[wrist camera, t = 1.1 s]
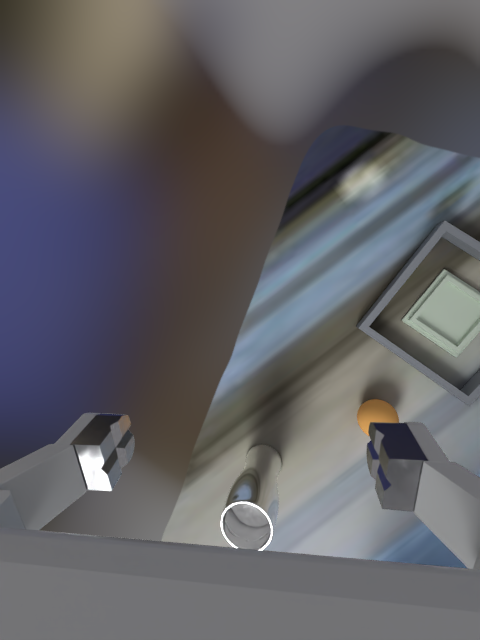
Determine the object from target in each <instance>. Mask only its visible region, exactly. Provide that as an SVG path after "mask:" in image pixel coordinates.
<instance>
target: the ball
mask: <svg viewBox="0 0 480 640" xmlns="http://www.w3.org/2000/svg"><path fill="white" fill-rule="evenodd" d="M357 420H358V424H359V426H360V428H361V429H362V430H363V432H364V433H366V434H367V435H368V436H369V433H368V431H369V425H370V422H385V423H399V418H398V415H397V412H396V411H395V409H394V408H393V407H392V406H391V405H390V404H389V403H387V402H385V401H383V400H379V399H372V400H368V401H366V402H365V403H363V404H362V405H361V406H360V408H359V410H358V414H357Z"/></svg>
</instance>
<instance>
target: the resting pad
mask: <svg viewBox="0 0 480 640" xmlns="http://www.w3.org/2000/svg"><path fill="white" fill-rule="evenodd" d="M401 321H403V322H404V323H406V324H407V325H409V326H410V327H412V328H413V329H415V330H416V331H418V332H419V333H420V334H422V335H423V336H425V337H426V338H428V339H429V340H431V341H432V342H434V343H435V344H437V345H438V346H439V347H441V348H442V349H444V350H445V351H447V352H448V353H450V354H451V355H453V356H454V357H456V358H457V357H458V355H459V354H460V353H461V352H462V351H463V350H464V349H465V348H466V346H467V345H468V344H469V343H470V342H471V341H472V340H473V339H474V338H475V336H476V335H477V334H478V333H479V332H480V292H479V291H477V290H476V289H474V288H473V287H471V286H470V285H468V284H467V283H465V282H464V281H462V280H460V279H459V278H457V277H456V276H454V275H453V274H451V273H450V272H448V271H446V270H445V269H443V270H442V271H441V273H440V274H439V275H438V276H437V277H436V279H435V280H434V281H433V282H432V283H431V285H430V286H429V287H428V288H427V289H426V291H425V292H424V293H423V294H422V296H421V297H420V298H419V299H418V300H417V302H416V303H415V304H414V305H413V306H412V308H411V309H410V310H409V311H408V312H407V314H406V315H405V316H404V317H403V318H402V320H401Z"/></svg>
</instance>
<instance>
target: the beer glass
mask: <svg viewBox="0 0 480 640" xmlns="http://www.w3.org/2000/svg"><path fill="white" fill-rule="evenodd" d="M281 467H282V462H281V458H280V455H279V454H278V452H277V451H276V450H275V449H274V448H272V447H270V446H268V445H263V444H260V445H256V446H254V447H252V448H251V449H250V450H249V451H248V453H247V455H246V464H245V467H244V469H243V470H242V471H241V473H240V474H239V475H238V477H237V478H236V479H235V481H234V483H233V484H232V486H231V488H230V491H229V493H228V496H227V499H226V502H225V505H224V509H223V513H222V515H221V520H220V525H221V530H222V533H223V535H224V537H225V539H226V540H227V541H228V542H229V543H230V544H231V545H232V546H233V547H235V548H242V549H253V550H263V549H265V548H266V547H267V546H268V545H269V544H270V542H271V540H272V538H273V532H274V528H275V525H276V521H277V515H278V508H279V491H278V483H277V477H278V475H279V473H280V471H281Z"/></svg>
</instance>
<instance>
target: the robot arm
mask: <svg viewBox="0 0 480 640" xmlns="http://www.w3.org/2000/svg"><path fill="white" fill-rule="evenodd" d="M130 425H131V423H130V419H129V416H127V415H123V414H105V413H100V414H99V413H86V414H83V415H82V416H81V417H80V418H79V419H78V420H77V421H76V422H75V423H74V424H73V425H72V426H71V427H70V428H69V429H68V430H67V432H66V433H65V434H64V435H63V436H62V437H61V438H60V439H59V440H58V441H57V442H56V443H55V444H49V445H47V446H46V447H43V448H41V449H39V450H37V451H36V452H33V453H31V454H29V455H28V456H26V457H23V458H21V459H19V460H17V461H16V462H14V463H11V464H9V465H7V466H6V467H3V468H1V469H0V640H480V477H478V476H476V475H475V474H473V473H472V472H470V471H468V470H467V469H465V468H464V467H462V466H460V465H459V464H457V463H454V462H450V461H449V460H448V458H447V457H446V455H445V454H444V453H443V451H442V450H441V448H440V447H439V445H438V444H437V442H436V441H435V439H434V438H433V436H432V435H431V433H430V432H429V430H428V429H427V428H426V426H425V425H424V424H423V423H418V422H404V423H385V422H370V425H369V431H368V433H369V436H370V439H371V441H370V442H369V443H368V444H367V463H368V468H369V471H370V474H371V476H372V477H373V478H374V479H375V480H376V486H375V489H376V492H377V495H378V498H379V501H380V504H381V507H382V509H390V510H401V511H411V512H414V514H415V515H416V516H417V517H418V518H419V519H420V520H421V521H422V522H423V523H424V524H425V525H426V526H427V527H428V528H429V529H430V530H431V531H432V532H433V533H434V534H435V535H436V536H437V537H438V538H439V539H440V540H441V541H442V542H443V543H444V544H445V545H446V546H447V548H448V549H449V550H450V551H451V552H452V553H453V554H454V555H455V556H456V557H457V558H458V559H459V560H460V561H461V562H462V563H463V564H464V565H465V566H466V567H467V568H468V569H467V568H456V567H445V566H434V565H422V564H411V563H400V562H388V561H377V560H366V559H355V558H343V557H332V556H321V555H310V554H298V553H287V552H276V551H264V550H253V549H242V548H231V547H219V546H208V545H197V544H186V543H174V542H163V541H152V540H140V539H129V538H118V537H106V536H95V535H83V534H71V533H61V532H50V531H39V530H40V529H41V528H42V527H43V526H44V525H46V524H47V523H48V522H49V521H51V520H52V519H53V518H54V517H55V516H57V515H58V514H59V513H61V512H62V511H63V510H64V509H66V508H67V507H68V506H69V505H71V504H72V503H73V502H74V501H75V500H77V499H78V498H79V497H81V496H82V495H83V494H84V493H86V492H87V490H107V491H112V489H113V488H114V486H115V484H116V483H117V481H118V479H119V478H120V476H121V474H122V473H121V468H122V467H123V466H125V465H126V464H128V463H129V461H130V459H131V457H132V454H133V451H134V436H133V434H132V433H131V432H130V431H129V430H128V428H129V427H130Z"/></svg>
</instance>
